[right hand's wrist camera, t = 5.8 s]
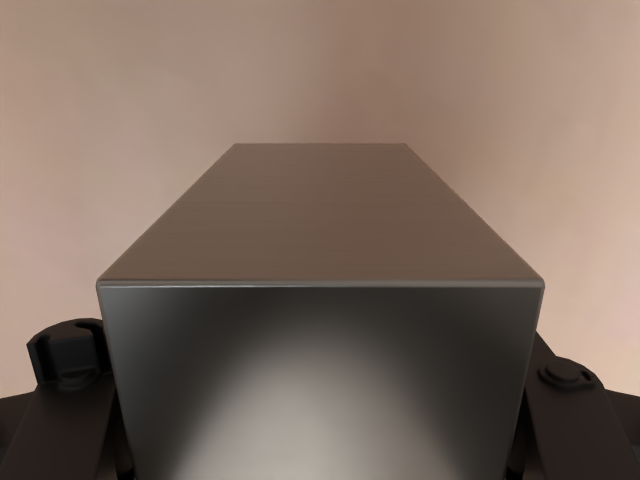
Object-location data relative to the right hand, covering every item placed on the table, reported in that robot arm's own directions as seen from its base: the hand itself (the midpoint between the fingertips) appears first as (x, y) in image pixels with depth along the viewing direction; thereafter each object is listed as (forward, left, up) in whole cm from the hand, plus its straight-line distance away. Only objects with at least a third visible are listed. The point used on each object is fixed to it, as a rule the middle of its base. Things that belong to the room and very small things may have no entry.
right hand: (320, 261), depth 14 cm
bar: (+8, +4, -1) cm, 9 cm away
